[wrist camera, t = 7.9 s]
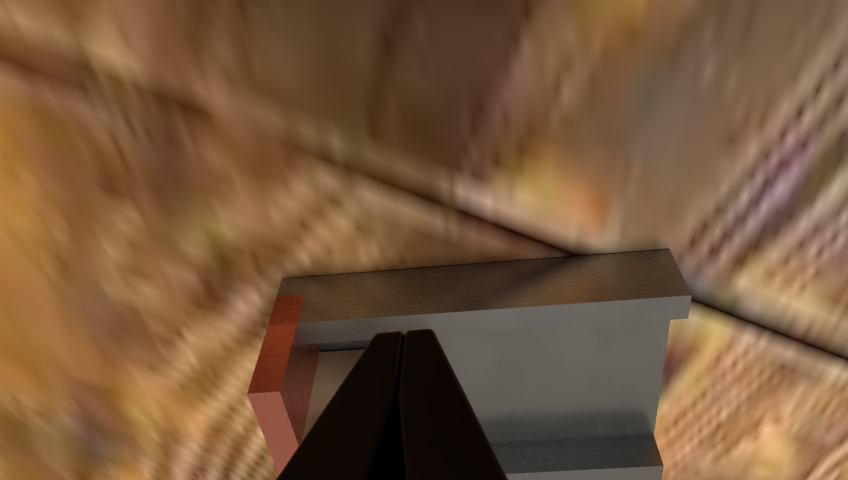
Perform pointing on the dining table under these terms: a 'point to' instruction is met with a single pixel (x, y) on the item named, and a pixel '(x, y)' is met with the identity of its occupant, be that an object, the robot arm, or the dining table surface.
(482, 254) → the dining table surface
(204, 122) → the dining table surface
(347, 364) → the block
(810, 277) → the dining table surface
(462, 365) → the grey open tray
